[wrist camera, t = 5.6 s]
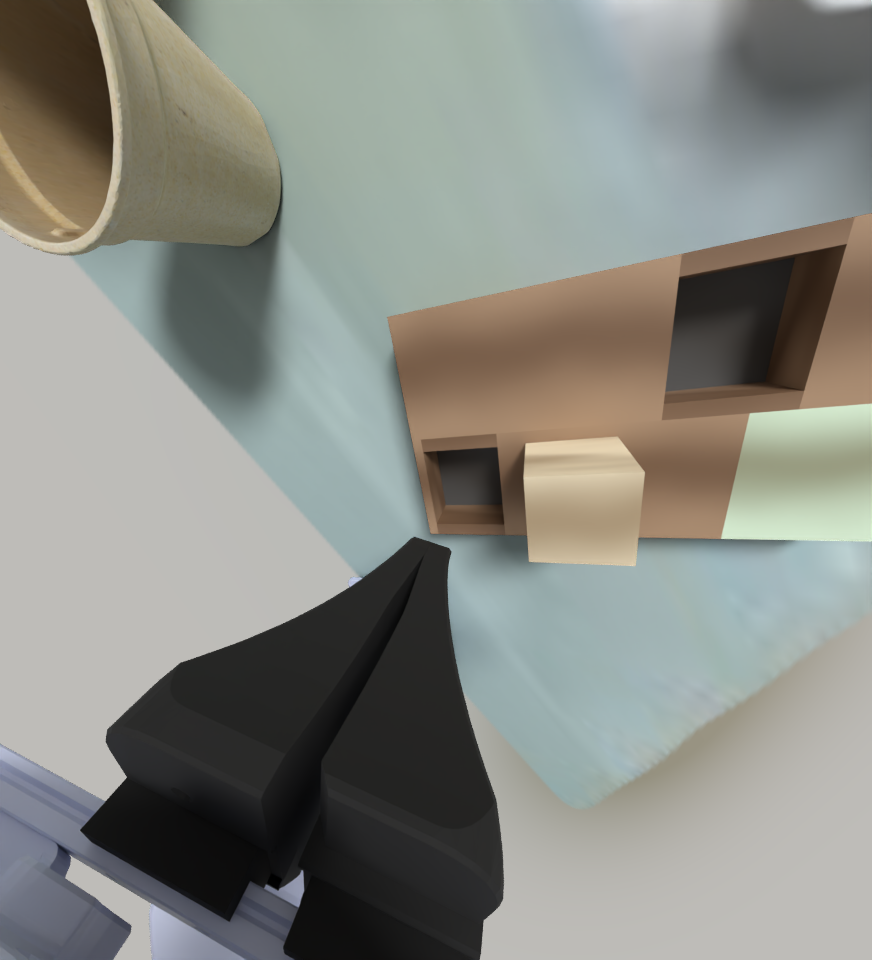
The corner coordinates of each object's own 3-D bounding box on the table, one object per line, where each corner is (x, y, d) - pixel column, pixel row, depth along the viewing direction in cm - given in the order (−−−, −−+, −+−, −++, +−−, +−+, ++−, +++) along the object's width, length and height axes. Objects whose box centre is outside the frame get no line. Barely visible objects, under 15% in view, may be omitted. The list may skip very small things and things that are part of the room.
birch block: (613, 513, 16) (635, 565, 12) (529, 513, 17) (528, 562, 14) (617, 436, 14) (644, 472, 11) (525, 443, 16) (523, 477, 12)
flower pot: (325, 282, 17) (166, 249, 10) (189, 283, 19) (-27, 257, 12) (294, 15, 13) (-23, -398, 6) (125, 54, 15) (-267, -207, 8)
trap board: (833, 511, 15) (881, 541, 13) (440, 512, 22) (430, 533, 19) (950, 204, 11) (1055, 173, 9) (405, 317, 17) (387, 316, 15)
